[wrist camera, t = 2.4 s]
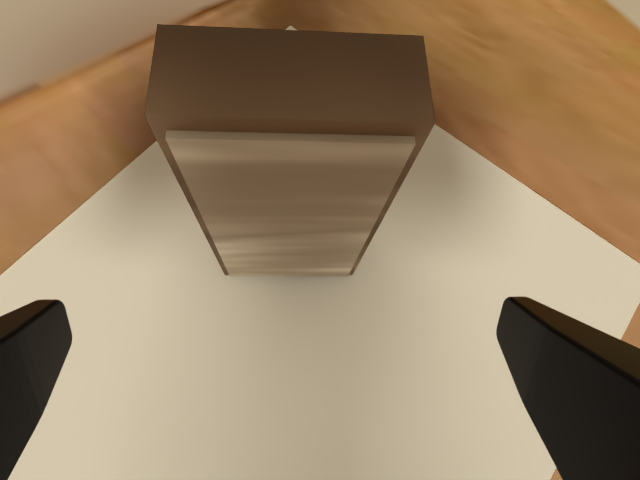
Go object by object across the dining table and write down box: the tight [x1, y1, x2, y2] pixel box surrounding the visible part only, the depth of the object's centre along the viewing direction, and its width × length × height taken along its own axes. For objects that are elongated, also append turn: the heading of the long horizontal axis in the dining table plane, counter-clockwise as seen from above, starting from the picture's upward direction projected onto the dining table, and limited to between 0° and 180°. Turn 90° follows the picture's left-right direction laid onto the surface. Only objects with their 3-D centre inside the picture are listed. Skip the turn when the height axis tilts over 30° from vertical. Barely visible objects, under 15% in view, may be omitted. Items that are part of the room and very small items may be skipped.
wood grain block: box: [144, 24, 435, 277], centre depth 15 cm, size 3×6×12 cm, turn 91°
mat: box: [0, 25, 640, 480], centre depth 19 cm, size 28×24×1 cm
